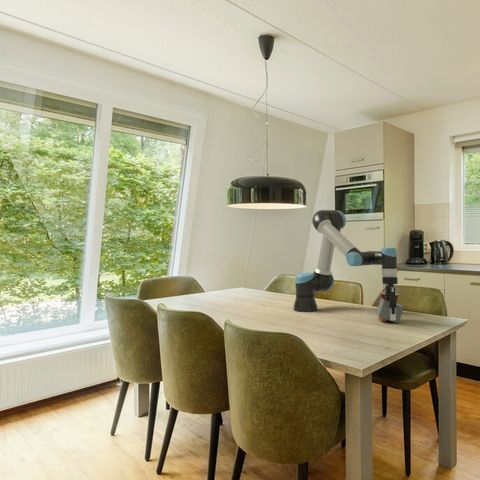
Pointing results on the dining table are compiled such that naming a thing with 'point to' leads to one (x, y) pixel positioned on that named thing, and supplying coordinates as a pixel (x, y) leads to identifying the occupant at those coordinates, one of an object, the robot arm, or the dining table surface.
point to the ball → (382, 319)
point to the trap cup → (388, 310)
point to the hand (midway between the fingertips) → (391, 318)
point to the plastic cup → (384, 295)
